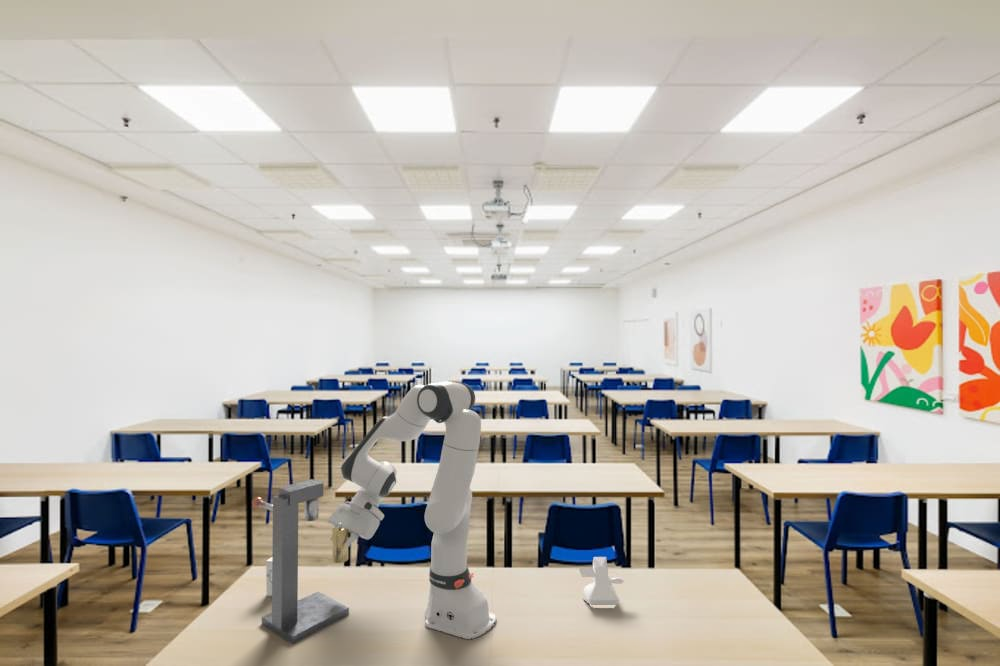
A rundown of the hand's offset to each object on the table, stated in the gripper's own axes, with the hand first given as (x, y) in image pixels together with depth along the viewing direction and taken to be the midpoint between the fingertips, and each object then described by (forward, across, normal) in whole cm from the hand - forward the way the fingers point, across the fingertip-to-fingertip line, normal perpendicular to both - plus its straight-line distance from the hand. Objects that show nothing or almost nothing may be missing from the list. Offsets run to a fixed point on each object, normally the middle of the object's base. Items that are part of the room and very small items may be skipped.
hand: (338, 543), depth 170 cm
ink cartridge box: (+19, -18, +6) cm, 27 cm away
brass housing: (+3, 0, +4) cm, 5 cm away
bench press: (+22, -1, +2) cm, 22 cm away
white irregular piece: (-23, +70, +48) cm, 88 cm away
